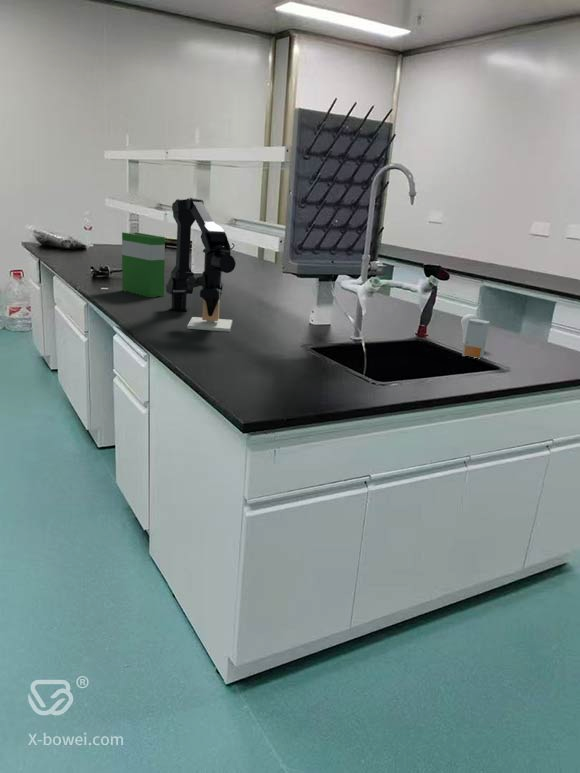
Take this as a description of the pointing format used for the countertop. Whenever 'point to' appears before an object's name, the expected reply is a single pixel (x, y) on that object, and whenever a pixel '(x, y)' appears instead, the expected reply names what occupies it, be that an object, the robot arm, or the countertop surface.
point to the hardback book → (143, 264)
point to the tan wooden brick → (215, 313)
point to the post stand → (210, 324)
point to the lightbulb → (466, 324)
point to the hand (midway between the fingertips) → (210, 314)
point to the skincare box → (476, 338)
